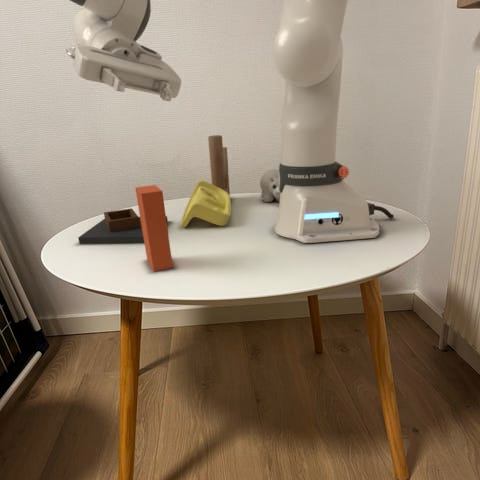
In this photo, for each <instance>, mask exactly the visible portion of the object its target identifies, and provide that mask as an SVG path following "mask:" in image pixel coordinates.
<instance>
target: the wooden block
mask: <svg viewBox="0 0 480 480" xmlns="http://www.w3.org/2000/svg"><path fill="white" fill-rule="evenodd" d="M207 141H208V153H209V164H210V166H209V167H210V177H211V184H213V185H215V186H216V187H219V188H221V189H223V190H224V191H226V192H227V193H228V194H229V195H230V196H231V192H230V179H229V177H230V176H229V161H228V147H226V146H223V136H222V135H219V134H215V135H214V134H213V135H209V136H208V137H207Z"/></svg>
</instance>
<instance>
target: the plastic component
mask: <svg viewBox="0 0 480 480" xmlns="http://www.w3.org/2000/svg"><path fill="white" fill-rule="evenodd" d="M231 207H232V204H231V194H230V195H229V194H228V193H227V192H226V191H224V190H223V189H221V188H219V187H216V186H215V185H213V184H212V183H210V182H207V181H206V180H199V181H198V182H197V184H196V185H195V188H194V189H193V191H192V194H191V196H190V198H189V200H188V202H187V204H186V207H185V209H184V212H183V215H182V218H181V222H180V225H179V227H182V228H186V227H188V224H189V223H190V222H191V220H192V219H193V218H198V219H201V220H203V221H206V222H208V223H211V224H213V225H217V226H220V227H224V226H226V225H227V224H228V221H229V218H230V216H231V213H232V212H231V211H232V208H231Z"/></svg>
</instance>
